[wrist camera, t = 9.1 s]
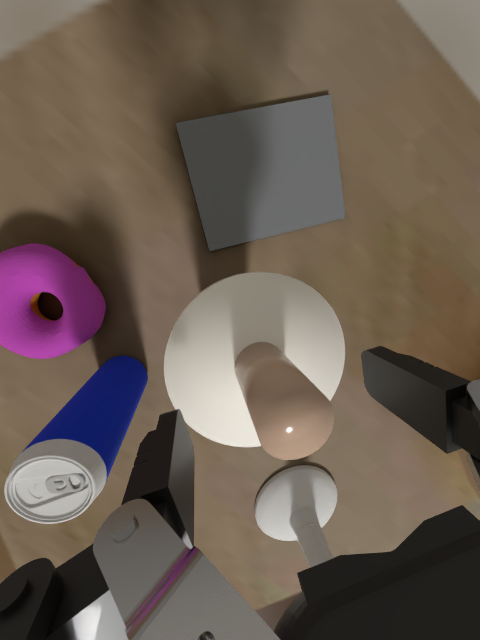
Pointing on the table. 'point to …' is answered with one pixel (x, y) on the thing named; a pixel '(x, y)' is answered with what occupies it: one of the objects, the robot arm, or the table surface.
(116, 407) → the beverage can
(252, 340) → the lid
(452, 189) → the table surface
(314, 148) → the mat
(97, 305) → the donut
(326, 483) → the candlestick
